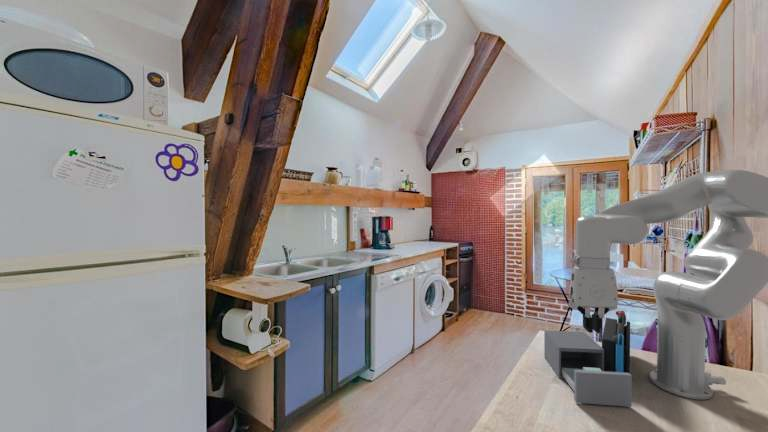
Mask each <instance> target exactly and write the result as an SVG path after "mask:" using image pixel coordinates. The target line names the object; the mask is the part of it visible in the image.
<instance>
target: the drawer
mask: <svg viewBox="0 0 768 432" xmlns="http://www.w3.org/2000/svg"><path fill="white" fill-rule="evenodd" d="M561 374H562V375H563V377H564V378H565V379H564V380H565V381H566V383H568V385H569V386H570V387H571V389H572V391H573V401H575V403H576V404H588V405H589V404H590V405H591V404H592V405H602V406H603V405H604V406H614V407H615V406H616V407H617V406H618V407H629V408H630V407H632V385H633V384H632V381H633V380H632V378H633V376H632V374H631V373H630V374H629V373H623V372H606V371H589V370H583V369H579V368H562V367H561Z"/></svg>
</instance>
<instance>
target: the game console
mask: <svg viewBox="0 0 768 432" xmlns="http://www.w3.org/2000/svg"><path fill="white" fill-rule="evenodd" d="M615 314H616V316H617V317H618V318H617V319H616V318H610V317H606V318H605V322H604V327H603V332H602V337H601V347H602V348H603V349H604V371H606V372H623V373H629V374H631V372H630V371H631V367H630V366H631V361H630V360H631V321H627V316H626V313H625V311H624V310H617V311H615Z"/></svg>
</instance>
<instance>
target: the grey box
mask: <svg viewBox="0 0 768 432" xmlns="http://www.w3.org/2000/svg"><path fill="white" fill-rule="evenodd" d="M543 336H544V343H543V345H544V346H543V347H544V350H543V351H544V356H543V357H544V359H545V360H547V361H546V363H548V364H550V365H549V366H550V367H552V368H551V369H552V371H553V372H554V373H555V375H556V376H557V377H558V379H563V380H565V378H564V377H563V375H562V374H561V367H562V368H579V369H583V367H591V368H600V369H601V370H602V371H604V349H603V348H602V346H601V345H599V343H597V342H596V341H595V340H593V338H591V337H590V336H589V334H587V333H586V332H584V331H567V330H566V331H564V330H544V335H543Z"/></svg>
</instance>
